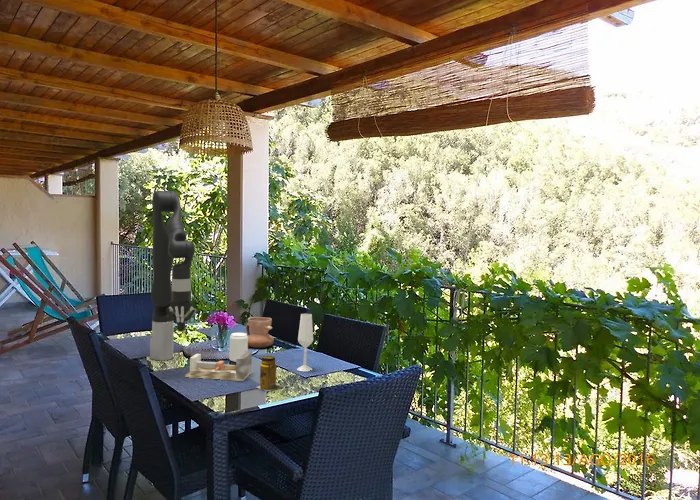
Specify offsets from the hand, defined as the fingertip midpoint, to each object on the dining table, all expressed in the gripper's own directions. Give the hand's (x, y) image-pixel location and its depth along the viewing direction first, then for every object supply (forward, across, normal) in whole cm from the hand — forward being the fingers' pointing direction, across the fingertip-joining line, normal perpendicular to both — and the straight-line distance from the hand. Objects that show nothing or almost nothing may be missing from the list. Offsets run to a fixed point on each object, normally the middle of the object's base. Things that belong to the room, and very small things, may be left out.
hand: (181, 331), depth 226 cm
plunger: (+16, +10, 0) cm, 19 cm away
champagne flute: (+18, +49, +15) cm, 55 cm away
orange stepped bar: (+15, +17, -2) cm, 23 cm away
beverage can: (+18, +17, +24) cm, 34 cm away
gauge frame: (+18, +16, 0) cm, 24 cm away
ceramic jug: (+18, +20, +52) cm, 58 cm away
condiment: (+18, +40, -12) cm, 45 cm away
